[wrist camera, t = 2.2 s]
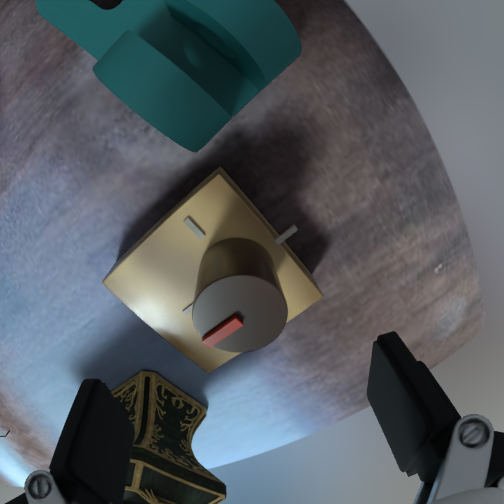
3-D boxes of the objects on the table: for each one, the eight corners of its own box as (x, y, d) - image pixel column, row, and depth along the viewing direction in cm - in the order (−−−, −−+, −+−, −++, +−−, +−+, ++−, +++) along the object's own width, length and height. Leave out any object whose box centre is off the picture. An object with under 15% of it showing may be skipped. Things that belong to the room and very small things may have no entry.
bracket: (282, 71, 16) (319, 38, 9) (204, 146, 18) (188, 159, 11) (101, -57, 10) (60, -106, 3) (36, 8, 12) (-26, -18, 5)
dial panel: (236, 152, 18) (238, 157, 15) (326, 264, 22) (341, 285, 19) (115, 262, 20) (100, 284, 17) (209, 347, 24) (208, 375, 21)
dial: (241, 221, 17) (247, 257, 12) (289, 275, 18) (307, 322, 14) (183, 269, 18) (171, 316, 13) (232, 316, 19) (235, 369, 15)
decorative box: (151, 350, 24) (109, 588, 5) (229, 405, 27) (241, 600, 9) (57, 417, 27) (16, 547, 9) (118, 455, 31) (99, 579, 13)
